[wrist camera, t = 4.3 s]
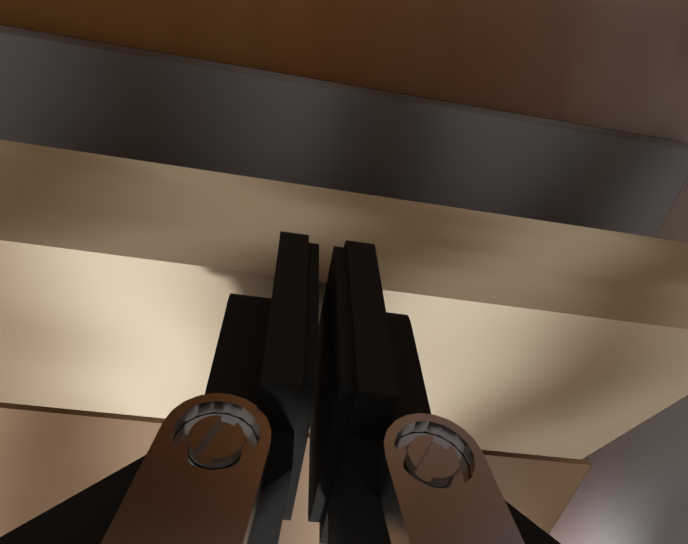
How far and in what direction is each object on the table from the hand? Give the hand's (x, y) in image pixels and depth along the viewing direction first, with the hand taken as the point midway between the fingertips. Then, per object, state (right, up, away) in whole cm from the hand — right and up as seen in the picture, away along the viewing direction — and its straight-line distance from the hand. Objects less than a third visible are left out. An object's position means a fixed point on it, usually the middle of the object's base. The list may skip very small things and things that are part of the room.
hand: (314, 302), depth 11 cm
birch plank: (0, 0, +4) cm, 4 cm away
